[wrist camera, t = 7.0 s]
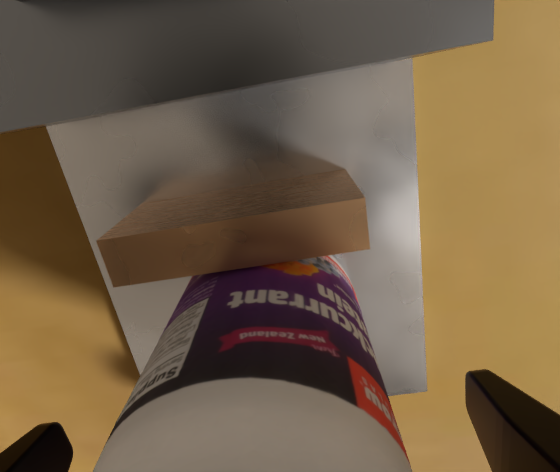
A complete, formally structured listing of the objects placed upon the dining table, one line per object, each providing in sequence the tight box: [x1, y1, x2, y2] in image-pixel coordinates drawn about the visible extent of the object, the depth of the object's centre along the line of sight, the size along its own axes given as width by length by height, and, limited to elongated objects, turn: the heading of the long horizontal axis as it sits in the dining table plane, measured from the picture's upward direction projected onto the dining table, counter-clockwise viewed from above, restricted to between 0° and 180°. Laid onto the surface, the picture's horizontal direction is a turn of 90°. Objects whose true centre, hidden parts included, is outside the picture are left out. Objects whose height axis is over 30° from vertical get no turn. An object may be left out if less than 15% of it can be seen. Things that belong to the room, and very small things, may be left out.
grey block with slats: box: [0, 0, 494, 396], centre depth 9 cm, size 16×10×7 cm, turn 10°
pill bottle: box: [93, 255, 412, 472], centre depth 8 cm, size 5×5×10 cm
